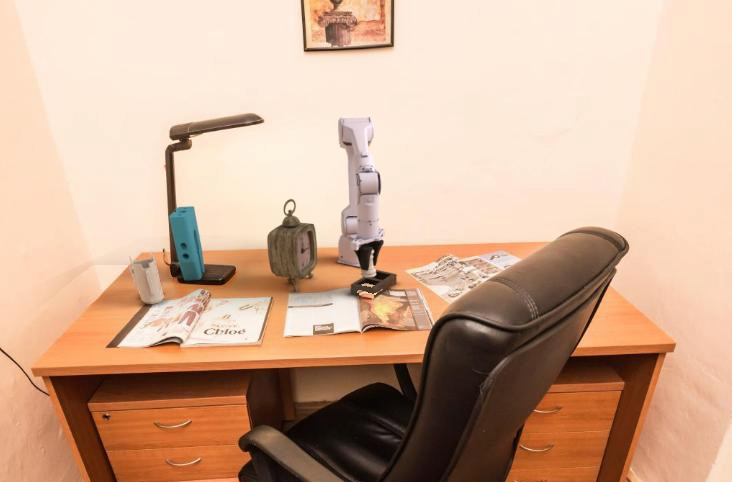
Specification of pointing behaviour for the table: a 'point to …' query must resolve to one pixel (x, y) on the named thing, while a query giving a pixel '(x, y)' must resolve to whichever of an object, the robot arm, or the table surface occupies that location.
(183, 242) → the block
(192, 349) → the table surface
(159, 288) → the cable organizer
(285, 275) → the tabletop clock
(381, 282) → the rack
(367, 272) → the rook chess piece
